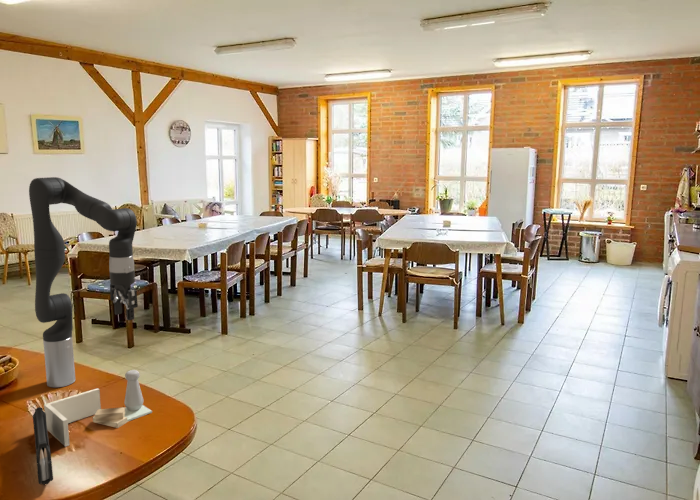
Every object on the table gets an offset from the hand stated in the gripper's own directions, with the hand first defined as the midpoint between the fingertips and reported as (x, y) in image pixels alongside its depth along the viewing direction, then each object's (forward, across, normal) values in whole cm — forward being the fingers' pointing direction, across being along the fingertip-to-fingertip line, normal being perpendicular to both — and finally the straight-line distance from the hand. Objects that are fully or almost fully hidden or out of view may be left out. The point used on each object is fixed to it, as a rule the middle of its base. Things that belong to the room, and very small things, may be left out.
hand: (124, 316), depth 174 cm
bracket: (+30, +8, -18) cm, 36 cm away
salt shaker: (+29, +8, -2) cm, 31 cm away
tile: (+30, +10, -3) cm, 32 cm away
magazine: (+30, +19, -33) cm, 48 cm away
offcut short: (+28, +10, -11) cm, 32 cm away
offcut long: (+30, +10, -11) cm, 34 cm away
